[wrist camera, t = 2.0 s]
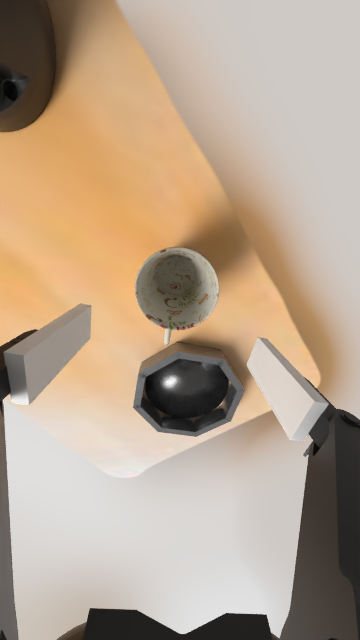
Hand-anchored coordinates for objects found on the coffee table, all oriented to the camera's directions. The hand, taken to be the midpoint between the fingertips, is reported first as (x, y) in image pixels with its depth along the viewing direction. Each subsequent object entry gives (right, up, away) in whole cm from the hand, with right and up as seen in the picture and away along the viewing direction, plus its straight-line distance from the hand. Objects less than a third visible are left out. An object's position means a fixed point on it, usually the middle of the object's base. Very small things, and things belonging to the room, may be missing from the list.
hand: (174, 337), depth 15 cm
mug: (0, +6, +14) cm, 15 cm away
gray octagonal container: (+2, -11, +21) cm, 24 cm away
